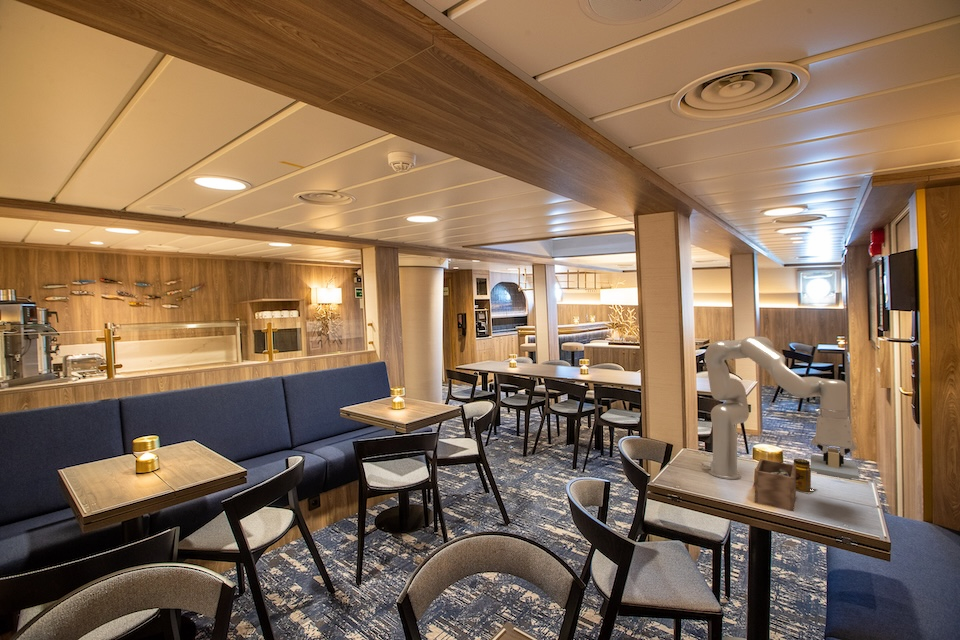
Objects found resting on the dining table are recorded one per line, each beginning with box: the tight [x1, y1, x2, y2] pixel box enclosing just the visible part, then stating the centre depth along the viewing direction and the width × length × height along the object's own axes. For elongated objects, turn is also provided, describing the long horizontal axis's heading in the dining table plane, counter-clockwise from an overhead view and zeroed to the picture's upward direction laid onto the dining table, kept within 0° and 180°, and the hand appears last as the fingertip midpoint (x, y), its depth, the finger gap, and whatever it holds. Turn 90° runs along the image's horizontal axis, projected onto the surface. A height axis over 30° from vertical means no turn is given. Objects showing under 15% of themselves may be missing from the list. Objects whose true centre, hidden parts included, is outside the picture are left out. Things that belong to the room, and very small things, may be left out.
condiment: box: [793, 458, 818, 495], centre depth 177 cm, size 7×8×12 cm
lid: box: [809, 447, 860, 481], centre depth 156 cm, size 13×19×7 cm
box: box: [754, 458, 797, 512], centre depth 167 cm, size 12×18×12 cm, turn 142°
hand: (833, 464), depth 156 cm, fingers closed on lid, 3 cm apart
